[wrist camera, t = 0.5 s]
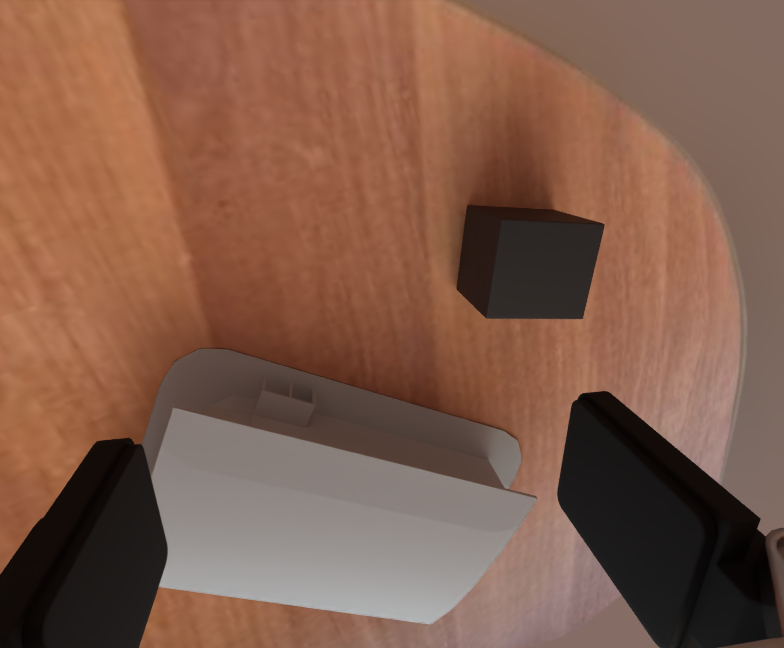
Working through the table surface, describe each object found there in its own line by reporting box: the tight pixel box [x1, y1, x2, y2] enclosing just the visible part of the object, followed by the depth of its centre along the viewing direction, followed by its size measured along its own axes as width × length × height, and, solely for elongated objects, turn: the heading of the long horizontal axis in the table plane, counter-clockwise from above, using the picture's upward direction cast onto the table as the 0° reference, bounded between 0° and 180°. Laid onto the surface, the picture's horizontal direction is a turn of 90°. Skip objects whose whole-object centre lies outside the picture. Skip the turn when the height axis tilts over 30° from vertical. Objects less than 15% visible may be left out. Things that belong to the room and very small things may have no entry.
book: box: [142, 348, 537, 624], centre depth 28 cm, size 15×23×4 cm, turn 66°
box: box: [457, 205, 604, 319], centre depth 23 cm, size 5×5×5 cm
